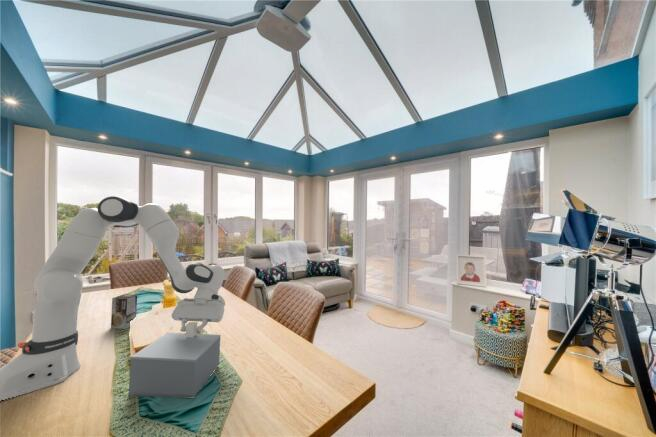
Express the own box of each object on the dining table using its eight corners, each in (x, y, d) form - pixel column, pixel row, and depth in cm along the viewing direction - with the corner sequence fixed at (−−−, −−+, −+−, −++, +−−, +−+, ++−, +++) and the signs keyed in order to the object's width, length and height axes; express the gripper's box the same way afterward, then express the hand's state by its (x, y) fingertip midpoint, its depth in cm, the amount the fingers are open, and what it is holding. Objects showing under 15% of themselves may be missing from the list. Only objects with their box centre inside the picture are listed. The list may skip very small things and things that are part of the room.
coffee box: (136, 324, 133) (138, 295, 133) (125, 329, 126) (127, 298, 127) (121, 323, 134) (123, 294, 134) (109, 328, 127) (111, 297, 128)
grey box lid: (195, 362, 80) (196, 344, 80) (130, 359, 80) (131, 341, 80) (220, 336, 98) (221, 322, 98) (167, 334, 98) (168, 320, 98)
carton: (193, 398, 79) (195, 362, 80) (128, 395, 80) (130, 359, 80) (218, 366, 97) (220, 337, 98) (165, 364, 98) (167, 334, 98)
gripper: (178, 294, 103) (161, 327, 93) (225, 296, 103) (212, 329, 93) (184, 301, 108) (168, 333, 98) (229, 303, 107) (217, 335, 97)
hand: (190, 331), depth 95 cm, fingers open, 5 cm apart
